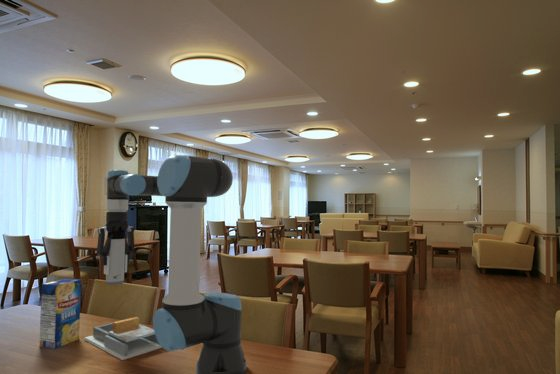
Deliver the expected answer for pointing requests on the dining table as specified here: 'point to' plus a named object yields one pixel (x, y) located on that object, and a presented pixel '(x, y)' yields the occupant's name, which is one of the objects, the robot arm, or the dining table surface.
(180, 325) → the robot arm
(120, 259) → the travel mug
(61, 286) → the blue food box
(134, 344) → the dock
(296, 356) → the dining table surface
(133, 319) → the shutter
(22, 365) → the dining table surface
